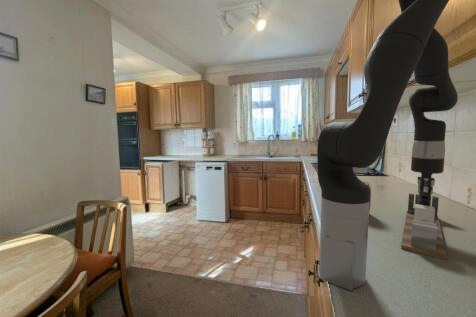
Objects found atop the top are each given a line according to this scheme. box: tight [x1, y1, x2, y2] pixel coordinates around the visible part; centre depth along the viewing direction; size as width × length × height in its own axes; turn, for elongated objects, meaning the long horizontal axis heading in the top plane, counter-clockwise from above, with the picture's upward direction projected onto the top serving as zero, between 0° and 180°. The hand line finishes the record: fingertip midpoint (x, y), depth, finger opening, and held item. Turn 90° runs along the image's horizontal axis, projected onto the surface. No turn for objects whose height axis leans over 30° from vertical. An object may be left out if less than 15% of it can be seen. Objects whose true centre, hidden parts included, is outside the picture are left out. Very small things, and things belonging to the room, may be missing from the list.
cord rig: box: [400, 192, 447, 260], centre depth 72 cm, size 35×9×8 cm, turn 142°
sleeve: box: [414, 203, 435, 223], centre depth 66 cm, size 4×4×7 cm
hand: (423, 212), depth 70 cm, fingers closed
